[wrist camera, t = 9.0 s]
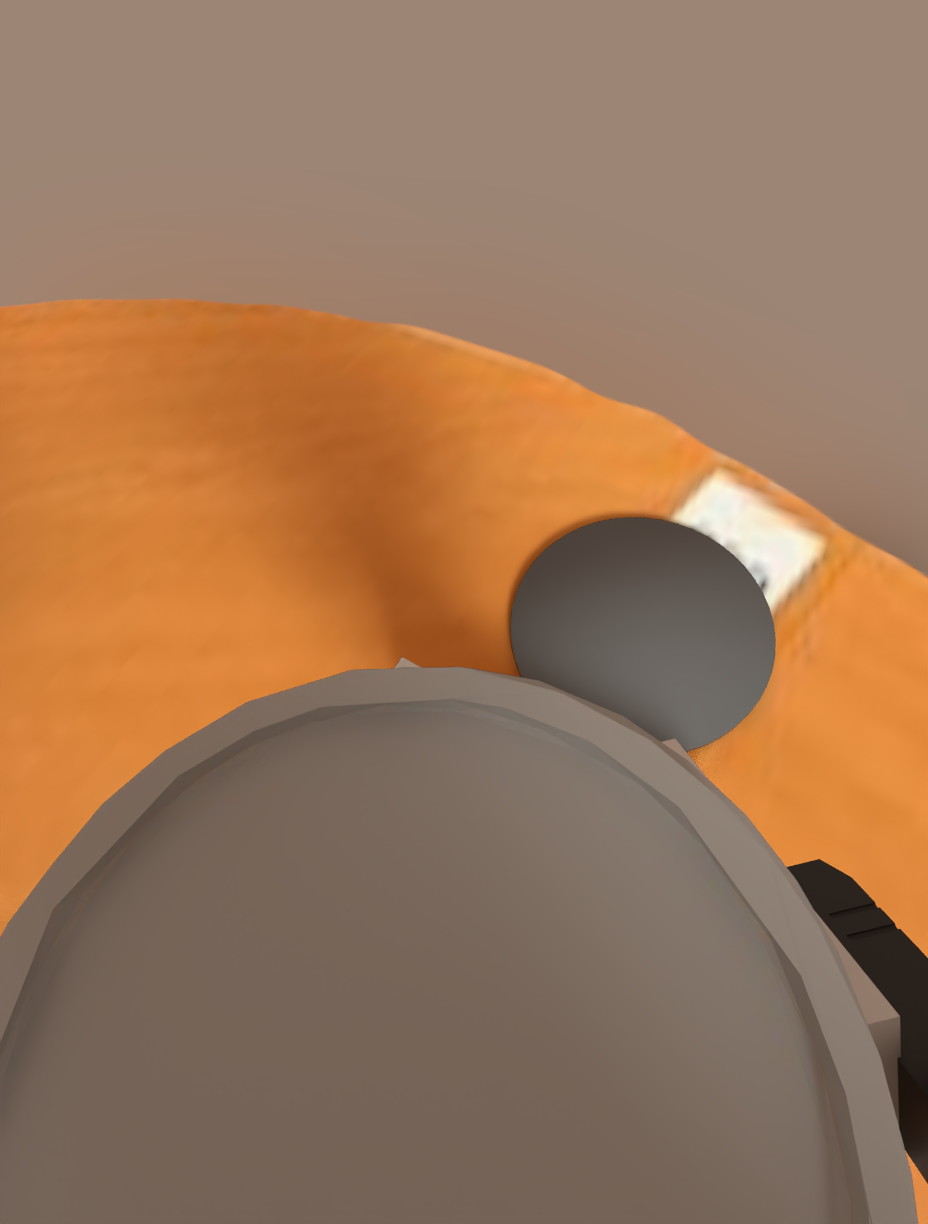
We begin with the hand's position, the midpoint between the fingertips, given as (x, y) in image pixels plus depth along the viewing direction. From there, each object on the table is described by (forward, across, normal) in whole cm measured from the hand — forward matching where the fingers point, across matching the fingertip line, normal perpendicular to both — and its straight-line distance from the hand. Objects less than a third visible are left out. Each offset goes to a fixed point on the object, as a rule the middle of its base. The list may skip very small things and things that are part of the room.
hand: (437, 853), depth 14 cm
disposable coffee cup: (+1, 0, -6) cm, 6 cm away
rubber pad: (+19, +10, -4) cm, 22 cm away
